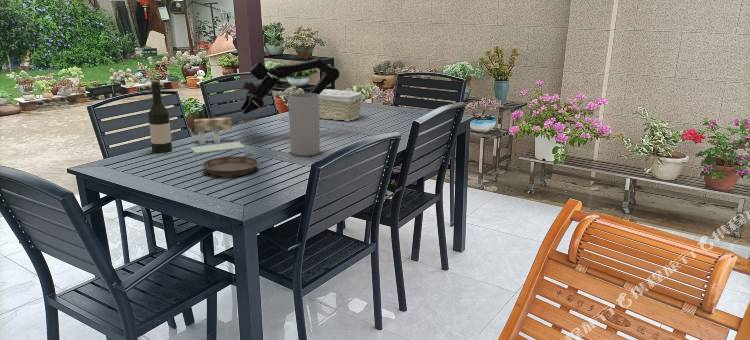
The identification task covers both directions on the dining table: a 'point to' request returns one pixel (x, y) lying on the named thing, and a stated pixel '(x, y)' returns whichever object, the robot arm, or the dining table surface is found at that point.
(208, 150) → the mat
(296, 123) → the cylinder vase
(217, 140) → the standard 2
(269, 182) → the dining table surface
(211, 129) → the beech rail
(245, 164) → the plant saucer
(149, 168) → the dining table surface
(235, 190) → the dining table surface
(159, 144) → the wine bottle
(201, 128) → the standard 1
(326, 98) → the storage basket
